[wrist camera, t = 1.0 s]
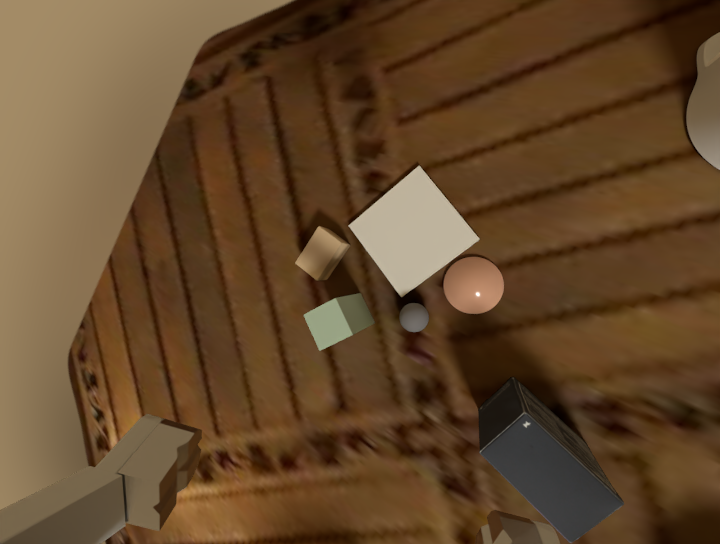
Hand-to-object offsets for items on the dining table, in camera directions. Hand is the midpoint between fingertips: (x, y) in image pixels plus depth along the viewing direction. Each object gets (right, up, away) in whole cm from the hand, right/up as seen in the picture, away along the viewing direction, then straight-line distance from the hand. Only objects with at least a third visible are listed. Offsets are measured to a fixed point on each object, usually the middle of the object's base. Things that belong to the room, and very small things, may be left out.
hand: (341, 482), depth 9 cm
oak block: (-4, +8, +39) cm, 40 cm away
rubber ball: (+7, 0, +33) cm, 34 cm away
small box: (+20, -12, +31) cm, 39 cm away
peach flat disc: (+15, +4, +33) cm, 37 cm away
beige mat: (+7, +11, +35) cm, 38 cm away
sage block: (0, 0, +38) cm, 38 cm away
